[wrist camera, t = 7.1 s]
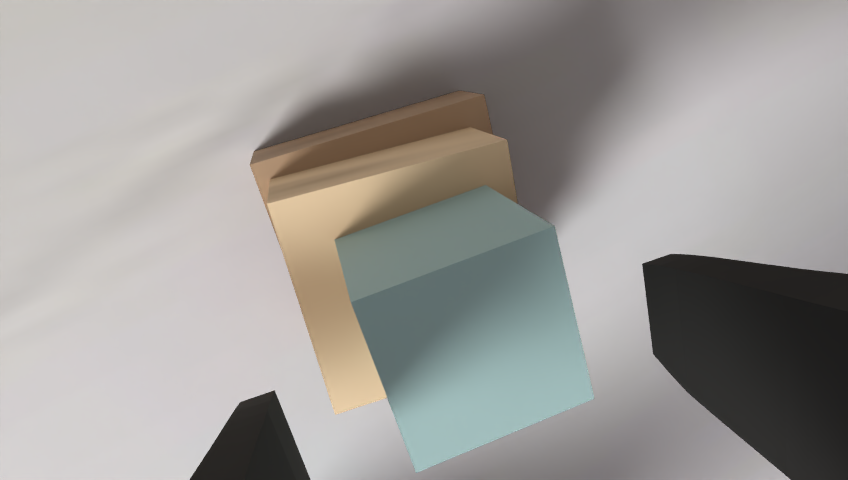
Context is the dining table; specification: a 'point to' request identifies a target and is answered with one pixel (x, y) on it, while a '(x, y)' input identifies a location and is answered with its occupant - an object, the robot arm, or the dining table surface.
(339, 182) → the tower top
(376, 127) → the tower base
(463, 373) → the teal cube
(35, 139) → the dining table surface
